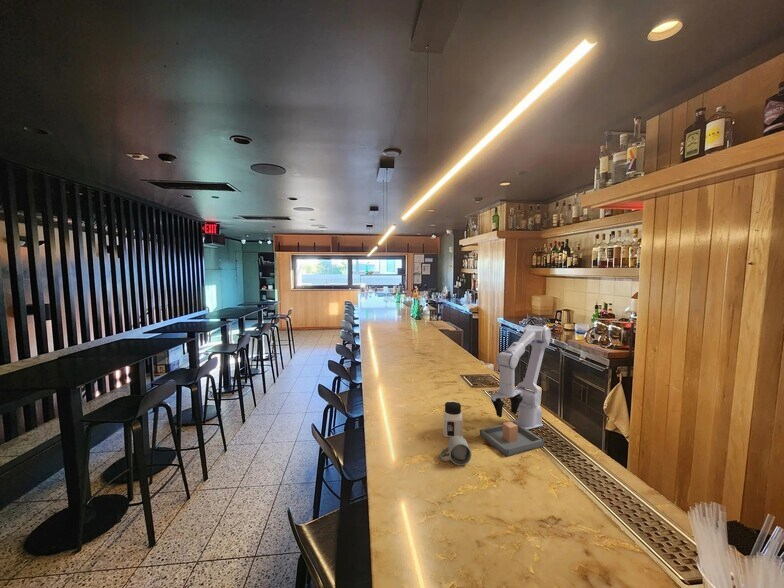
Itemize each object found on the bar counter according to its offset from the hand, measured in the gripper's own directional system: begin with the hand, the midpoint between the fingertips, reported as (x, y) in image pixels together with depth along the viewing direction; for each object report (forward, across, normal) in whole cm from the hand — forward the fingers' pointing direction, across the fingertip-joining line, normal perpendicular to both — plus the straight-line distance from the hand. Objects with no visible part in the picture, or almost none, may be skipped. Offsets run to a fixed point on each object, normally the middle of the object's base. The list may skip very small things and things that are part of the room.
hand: (506, 414), depth 127 cm
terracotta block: (+9, +1, +3) cm, 9 cm away
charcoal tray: (+9, +1, +3) cm, 10 cm away
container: (+10, +18, -11) cm, 24 cm away
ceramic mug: (+10, +28, +5) cm, 30 cm away
